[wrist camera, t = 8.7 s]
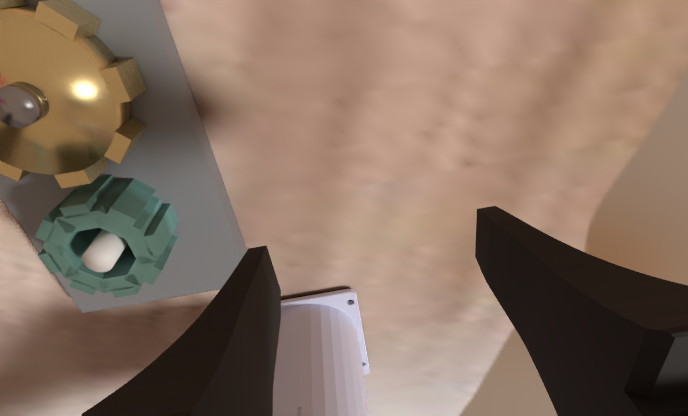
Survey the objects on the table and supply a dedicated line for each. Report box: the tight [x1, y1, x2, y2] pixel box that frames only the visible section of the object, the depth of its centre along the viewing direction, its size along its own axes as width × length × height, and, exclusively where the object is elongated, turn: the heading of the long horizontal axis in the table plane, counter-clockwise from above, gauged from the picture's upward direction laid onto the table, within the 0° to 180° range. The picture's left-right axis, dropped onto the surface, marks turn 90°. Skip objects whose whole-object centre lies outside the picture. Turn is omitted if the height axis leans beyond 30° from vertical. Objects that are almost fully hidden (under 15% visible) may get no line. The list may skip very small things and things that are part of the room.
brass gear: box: [0, 0, 147, 188], centre depth 17 cm, size 8×8×3 cm
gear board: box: [0, 0, 247, 313], centre depth 20 cm, size 18×11×5 cm, turn 9°
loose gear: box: [35, 175, 179, 298], centre depth 21 cm, size 6×6×3 cm
